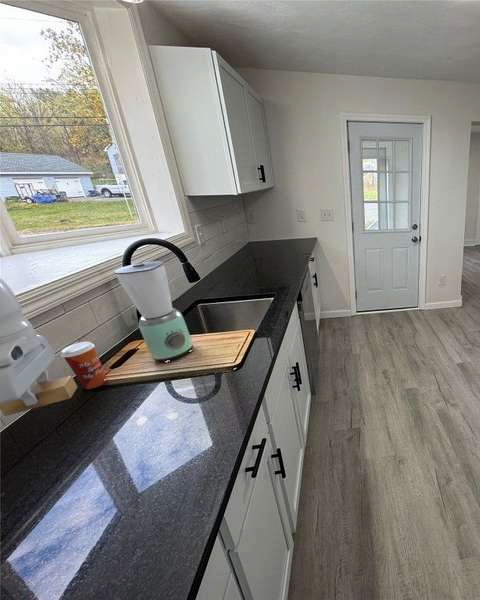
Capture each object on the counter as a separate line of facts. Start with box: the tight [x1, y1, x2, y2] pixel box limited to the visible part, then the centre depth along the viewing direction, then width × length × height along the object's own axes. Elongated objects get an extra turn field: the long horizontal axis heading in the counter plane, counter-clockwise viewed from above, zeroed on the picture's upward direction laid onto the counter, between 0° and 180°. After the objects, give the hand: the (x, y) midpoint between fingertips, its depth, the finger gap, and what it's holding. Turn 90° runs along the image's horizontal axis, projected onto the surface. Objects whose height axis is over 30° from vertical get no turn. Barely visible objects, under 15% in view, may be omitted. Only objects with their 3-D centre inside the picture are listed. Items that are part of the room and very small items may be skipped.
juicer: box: [113, 260, 194, 363], centre depth 111 cm, size 19×13×35 cm
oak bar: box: [0, 375, 78, 417], centre depth 73 cm, size 11×5×4 cm, turn 120°
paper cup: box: [60, 341, 108, 390], centre depth 100 cm, size 8×8×14 cm
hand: (39, 395), depth 73 cm, fingers closed on oak bar, 5 cm apart
